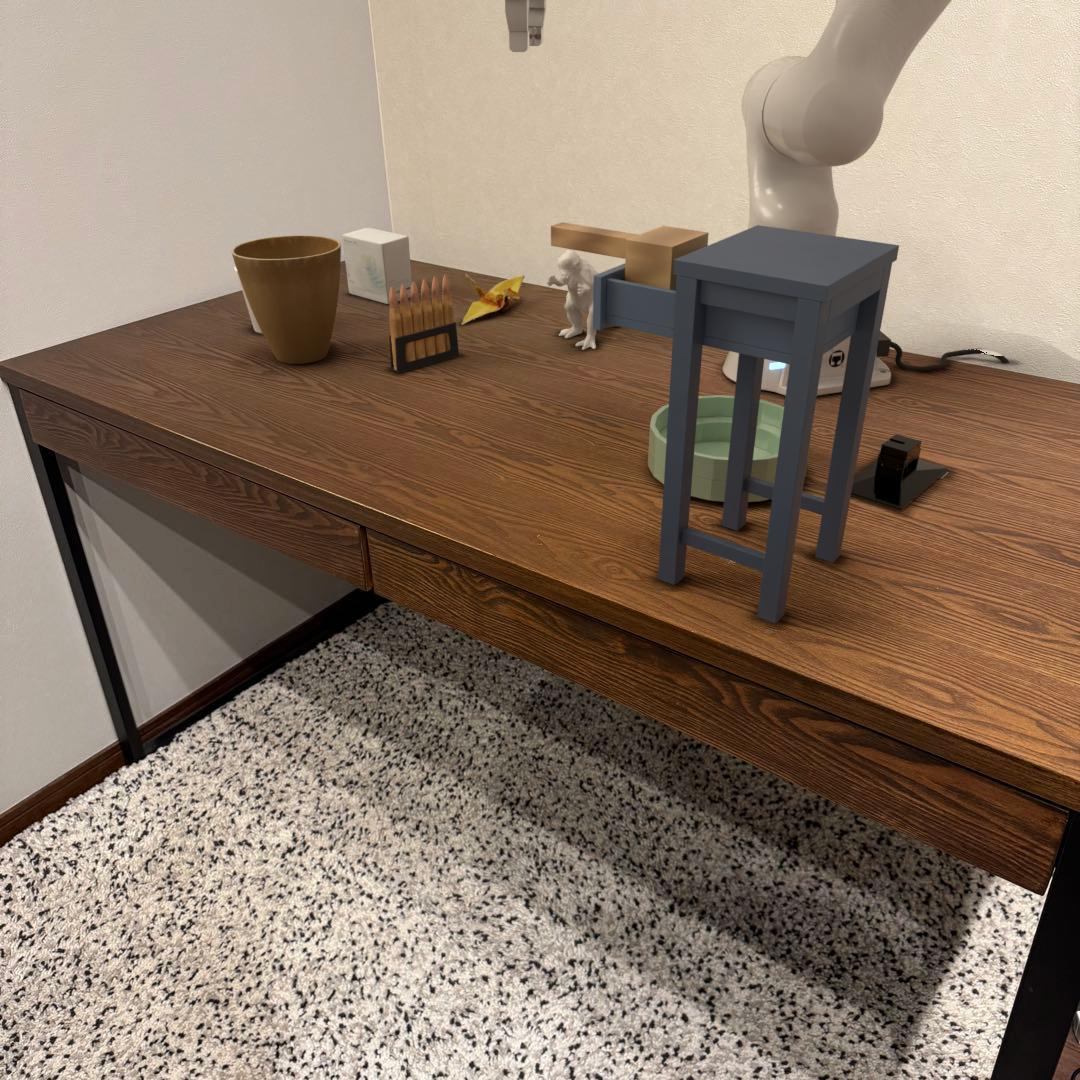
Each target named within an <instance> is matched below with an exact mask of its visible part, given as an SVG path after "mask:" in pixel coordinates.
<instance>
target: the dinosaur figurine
mask: <svg viewBox="0 0 1080 1080" xmlns="http://www.w3.org/2000/svg"><path fill="white" fill-rule="evenodd" d="M557 268H558V270H559V276H558V278H557V277H556V276H555V274H551V275H549V277H548V278H547V281H546V284H547V287H548V288H549V287H552V285H555V286H557V287H564V286H567V290H568V291H567V294H566V296H565V299H566V301H565V303H564V305H563V306H564V307H563V308H564V310H565V312H566V318H567V320H568V321H569V323H570V324H571V327H570V328H564V329H561V330H560V333H559V334H558V337H564V339H569V338H573V337H575V336H578V335H581V334H582V333H583V331H584V330H583V329H584V323H583V314H582V312H584V313H587V314H588V315H587V317H586V329H587V331H586V337H585V338H584V339H583V340H581V341H577V342H576V343H575V345H574V346H575V347H578V348H579V347H581V350H583V351H584V350H586V349H588V348H591V349H592V350H595V349H596V348H597V345H596V335H597V330H596V329H593V288H594V275H597V274H599V272H598V271H597V270H596V269H595V266H593V265H592V264H590V263H589V262H588V260H586V259H584V258H581V257H580V255H579V254H578V253H577V252H576V251H575V250H572V249H567V250H565V252H563V253H562V254H561V255H560V256H559V258H558V259H557ZM610 327H616V326H615V325H611V326H610Z"/></svg>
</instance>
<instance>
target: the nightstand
mask: <svg viewBox="0 0 1080 1080" xmlns="http://www.w3.org/2000/svg"><path fill="white" fill-rule="evenodd" d="M899 250H900V245H899V244H894V243H887V242H878V241H872V240H867V239H866V240H865V239H858V238H851V237H844V236H837V235H836V236H831V235H823V234H816V233H809V232H802V231H795V230H788V229H781V228H774V227H767V226H760V225H757V226H754V227H752V228H749V229H748V228H747V229H745V230H742V231H740V232H737V233H735V234H732V235H730V236H727V237H725V238H723V239H721V240H718V241H716V242H713V243H711V244H708V246H706V247H704V248H701V249H699V250H696V251H694V252H691V253H689V254H687V255H684V256H682V257H679V258H677V259H675V260H674V273H673V275H676V276H677V280H676V291H675V290H669V289H664V288H659V287H654V286H649V285H643V284H638V283H633V282H628V281H625V263H622V264H619V265H617V266H614V267H612V268H610V269H607V270H604V271H601V272H600V273H599V272H598V273H599V274H597V275H594V288H593V329H596V331H602V330H604V329H606V328H609V327H612V326H611V325H615V326H614V327H621V328H624V329H629V330H633V331H637V332H642V333H645V334H651V335H655V336H661V337H663V338H670V339H672V344H671V345H672V347H671V361H670V362H671V364H670V376H669V377H670V379H669V380H670V381H669V393H668V394H669V395H668V404H669V409H668V425H667V441H666V458H665V474H664V484H663V491H662V508H661V523H660V524H661V525H660V539H659V556H658V574H657V580H660V581H662V582H665V583H667V584H669V585H672V586H676V585H677V584H678V583H679V582H680V581H681V580H682V579H684V578H685V573H686V561H687V547H691V548H693V549H696V550H700V551H702V552H705V553H708V554H710V555H714V556H716V557H719V558H722V559H725V560H727V561H731V562H734V563H736V564H739V565H742V566H744V567H747V568H750V569H753V570H756V571H759V572H762V574H761V583H760V591H759V597H758V604H757V612H756V617H757V618H759V619H762V620H764V621H766V622H769V623H772V624H777V623H778V622H779V621H780V620H781V619H782V618H783V617H784V616H785V613H786V608H787V600H788V593H789V587H790V586H789V585H790V580H791V572H792V566H793V559H794V554H795V553H794V552H795V544H796V537H797V533H798V532H797V531H798V526H799V518H800V512H801V510H804V511H807V512H810V513H814V514H817V515H820V516H821V518H820V524H819V529H818V530H819V531H818V535H817V542H816V549H815V554H814V557H815V558H817V559H820V560H822V561H826V562H828V563H831V564H834V563H835V561H836V560H838V558H839V557H840V556H841V552H842V549H843V542H844V535H845V530H846V524H847V520H848V514H849V508H850V503H851V498H852V495H851V492H852V486H853V481H854V476H855V475H856V468H857V462H858V457H859V453H860V447H861V441H862V435H863V429H864V424H865V418H866V412H867V406H868V401H869V396H870V390H871V387H870V385H871V380H872V374H873V368H874V363H875V357H876V351H877V346H878V340H879V335H880V331H881V328H882V323H883V317H884V312H885V306H886V302H887V295H888V289H889V283H890V277H891V273H892V266H893V263H894V262H896V261H897V259H898V254H899ZM850 336H851V339H850V345H849V351H848V357H847V363H846V369H845V376H844V382H843V388H842V392H841V393H840V394H841V395H840V401H839V407H838V414H837V420H836V425H835V431H834V437H833V443H832V450H831V456H830V462H829V468H828V474H827V480H826V481H827V482H826V487H825V493H824V497H821V496H817V495H814V494H810V493H807V492H804V484H805V479H806V476H805V472H806V473H807V469H806V465H807V466H808V462H807V458H808V459H809V455H808V452H809V453H810V449H809V445H810V446H811V442H810V438H811V439H812V431H813V426H814V425H813V424H814V418H815V410H816V403H817V397H818V395H817V391H818V384H819V377H820V370H821V364H822V357H823V354H825V353H826V352H828V351H829V350H831V349H832V348H834V347H835V346H836V345H838V344H839V343H841V342H842V341H844V340H845V339H847V338H848V337H850ZM704 346H705V347H708V348H713V349H719V350H723V351H728V352H729V351H731V352H736V353H739V357H738V367H737V377H736V382H735V387H734V388H735V389H734V396H735V397H734V407H733V417H732V427H731V437H730V447H729V457H728V467H727V477H726V487H725V497H724V502H723V508H722V519H721V527H724V528H727V529H731V530H733V531H735V532H738V531H739V530H740V529H741V528H743V527H744V526H745V525H746V522H747V514H748V505H749V502H748V497H749V493H752V494H755V495H758V496H761V497H765V498H768V500H771V507H770V513H769V522H768V529H767V536H766V543H765V552H762V551H758V550H756V549H752V548H750V547H747V546H744V545H742V544H738V543H735V542H733V541H730V540H727V539H724V538H721V537H717V536H715V535H712V534H710V533H706V532H704V531H700V530H697V529H695V528H693V527H689V523H690V511H691V510H690V508H691V497H692V496H691V486H692V473H693V460H694V448H695V435H696V422H697V410H698V397H699V396H700V384H701V383H700V382H701V373H702V372H701V370H702V369H701V367H702V360H703V359H702V358H703V347H704ZM764 359H767V360H772V361H776V362H781V363H785V364H790V366H789V373H788V381H787V389H786V396H785V397H784V403H783V404H784V405H783V406H784V412H783V420H782V427H781V435H780V443H779V451H778V458H777V466H776V474H775V481H774V483H771V482H767V481H764V480H761V479H757V478H754V477H751V471H752V462H753V454H754V445H755V436H756V428H757V419H758V410H759V402H760V400H761V392H762V390H761V384H762V375H763V367H764Z"/></svg>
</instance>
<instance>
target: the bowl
mask: <svg viewBox="0 0 1080 1080" xmlns="http://www.w3.org/2000/svg"><path fill="white" fill-rule="evenodd" d="M734 397H735V395H726V394H725V395H723V394H716V395H715V394H714V395H699V397H698V410H697V422H696V435H695V448H694V460H693V473H692V486H691V497H694V498H698V499H702V500H706V501H711V502H722V503H724V497H725V487H726V477H727V467H728V457H729V447H730V437H731V427H732V417H733V407H734ZM668 409H669V403H668V404H666V405H665V404H664V405H662V406H661V407H660V408H659V409H658V410H657V411H656V412H654V413H653V414H652V415H651V419H650V423H649V432H648V433H649V434H648V435H649V436H648V450H647V451H648V452H647V454H648V455H647V466H648V469H649V470H650V471H649V472H651V475H652V477H654V478H655V479H656V480H657V481H658V482H660V483H661V484H663V485H664V474H665V458H666V441H667V425H668ZM783 412H784V405H781V404H777V403H774V402H771V401H768V400H765V399H760V402H759V410H758V419H757V428H756V436H755V445H754V454H753V462H752V471H751V477H754V478H757V479H761V480H764V481H767V482H771V483H774V481H775V474H776V466H777V458H778V451H779V443H780V435H781V427H782V420H783ZM811 441H812V437H811V438H810V443H811ZM810 449H811V444H810V445H809V450H810ZM809 454H810V451H809V452H808V456H810V455H809ZM808 462H809V457H808V458H807V463H808ZM807 468H808V464H807V465H806V470H807ZM806 474H807V471H806V472H805V477H806ZM768 500H769V499H768V498H765V497H761V496H758V495H755V494H752V493H749V497H748V503H753V502H764V501H768Z"/></svg>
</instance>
